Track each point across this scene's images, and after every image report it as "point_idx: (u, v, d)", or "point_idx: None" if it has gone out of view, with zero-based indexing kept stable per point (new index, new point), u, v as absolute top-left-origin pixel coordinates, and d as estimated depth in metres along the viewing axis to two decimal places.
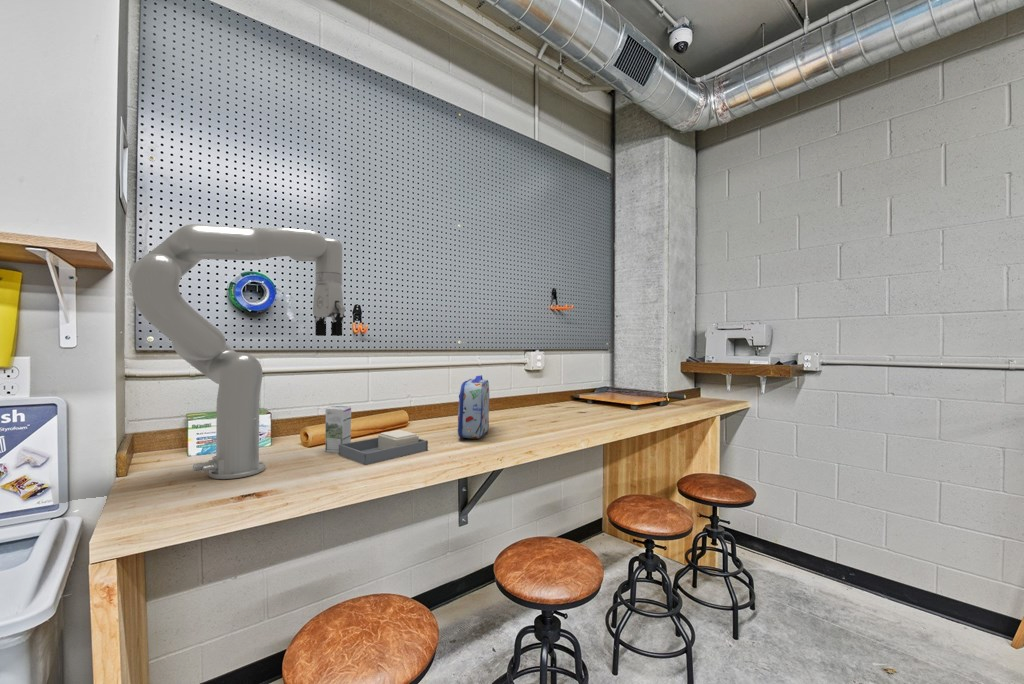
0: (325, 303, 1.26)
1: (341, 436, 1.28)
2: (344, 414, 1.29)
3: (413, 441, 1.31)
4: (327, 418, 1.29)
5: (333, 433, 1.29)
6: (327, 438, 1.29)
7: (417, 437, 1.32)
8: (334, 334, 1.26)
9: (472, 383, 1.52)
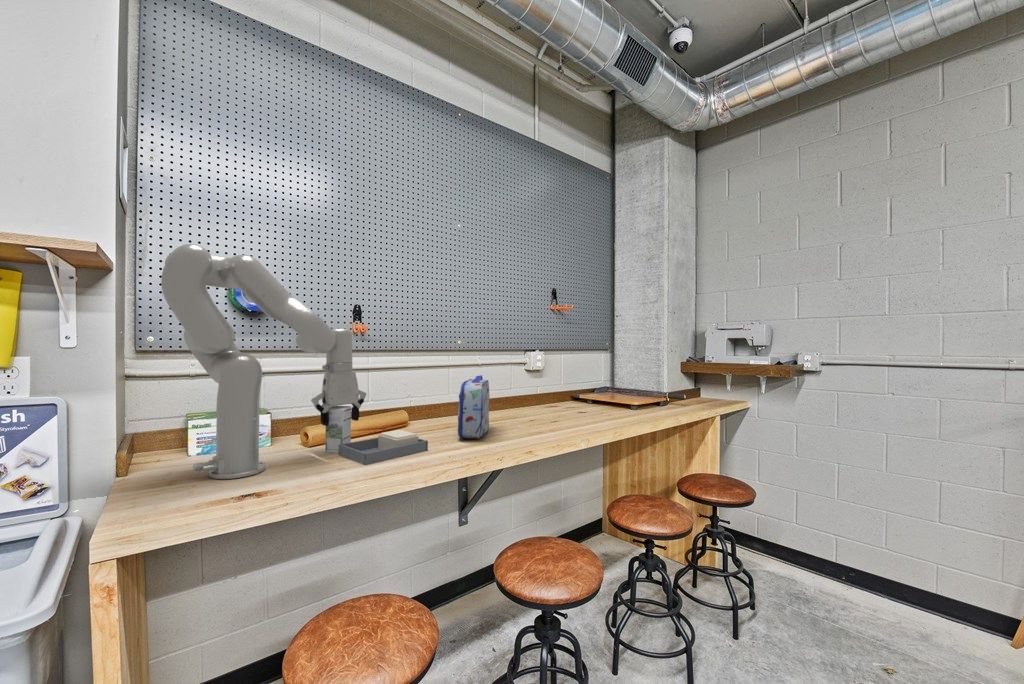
0: (354, 391, 1.32)
1: (341, 436, 1.28)
2: (344, 414, 1.29)
3: (413, 441, 1.31)
4: None
5: (333, 433, 1.29)
6: (327, 438, 1.29)
7: (417, 437, 1.32)
8: None
9: (472, 383, 1.52)
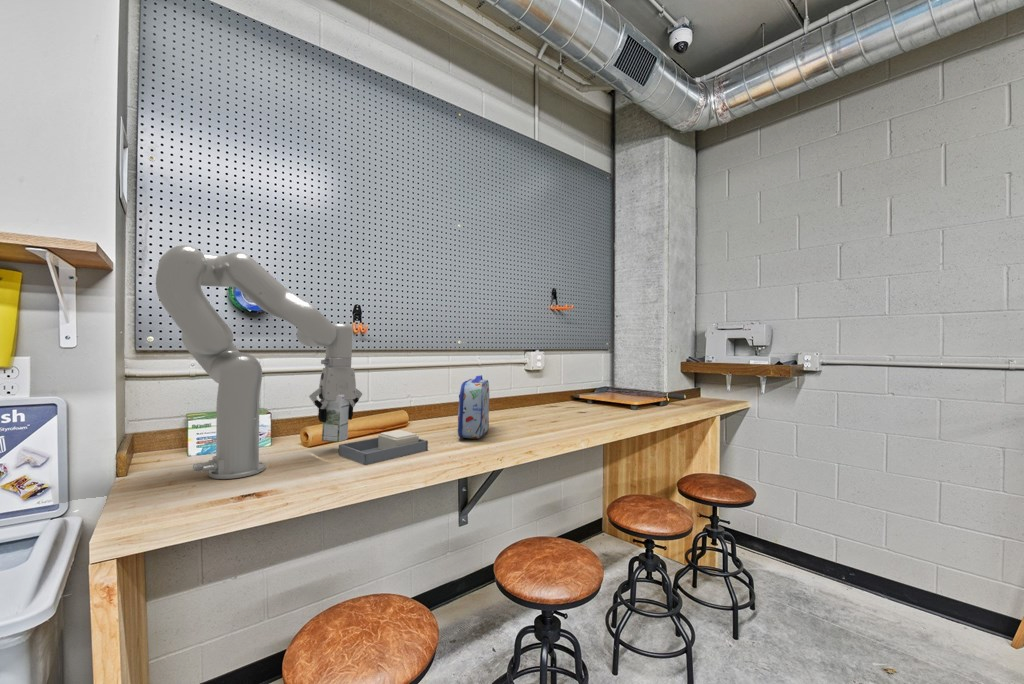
0: (351, 388, 1.32)
1: (338, 422, 1.28)
2: (342, 401, 1.29)
3: (413, 441, 1.31)
4: None
5: (330, 419, 1.28)
6: (324, 424, 1.28)
7: (417, 437, 1.32)
8: None
9: (472, 383, 1.52)
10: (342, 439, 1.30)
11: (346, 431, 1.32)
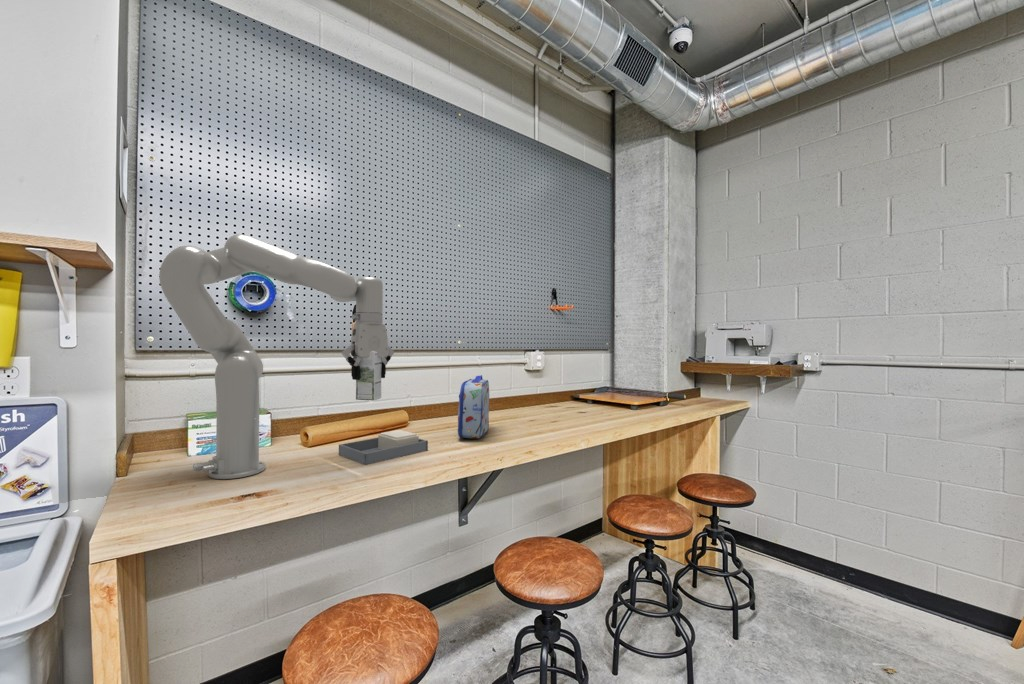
0: (384, 344, 1.26)
1: (373, 380, 1.22)
2: (375, 357, 1.23)
3: (413, 441, 1.31)
4: None
5: (364, 377, 1.23)
6: (358, 382, 1.23)
7: (417, 437, 1.32)
8: None
9: (472, 383, 1.52)
10: (376, 397, 1.25)
11: (380, 390, 1.27)
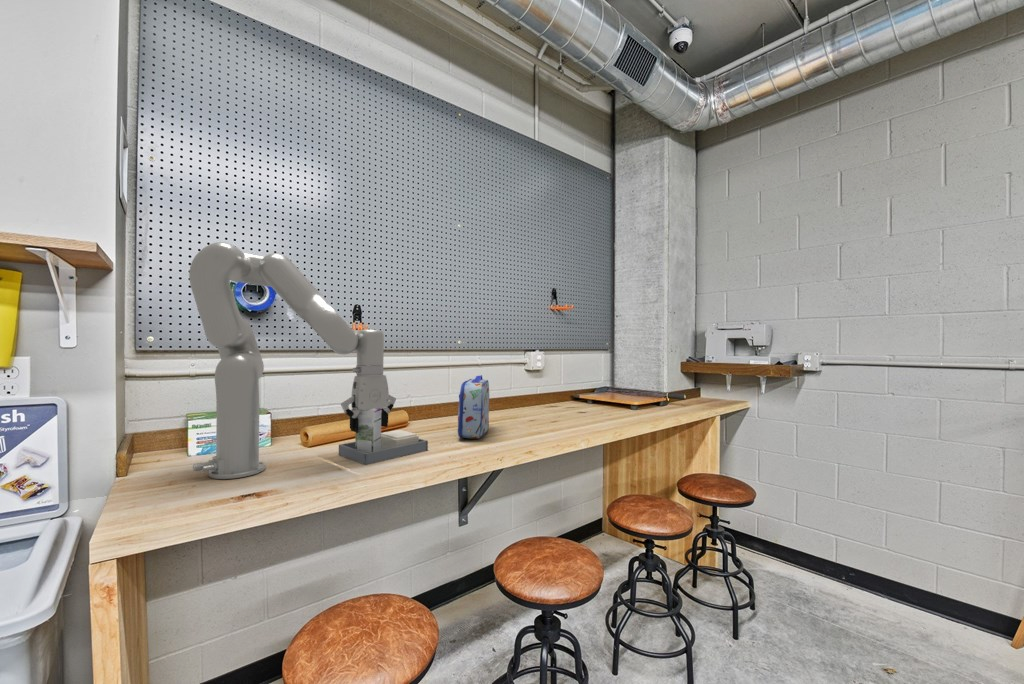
0: (384, 396, 1.26)
1: (372, 438, 1.22)
2: (375, 415, 1.23)
3: (413, 441, 1.31)
4: None
5: (363, 435, 1.22)
6: (357, 440, 1.22)
7: (417, 437, 1.32)
8: None
9: (472, 383, 1.52)
10: None
11: (379, 446, 1.26)
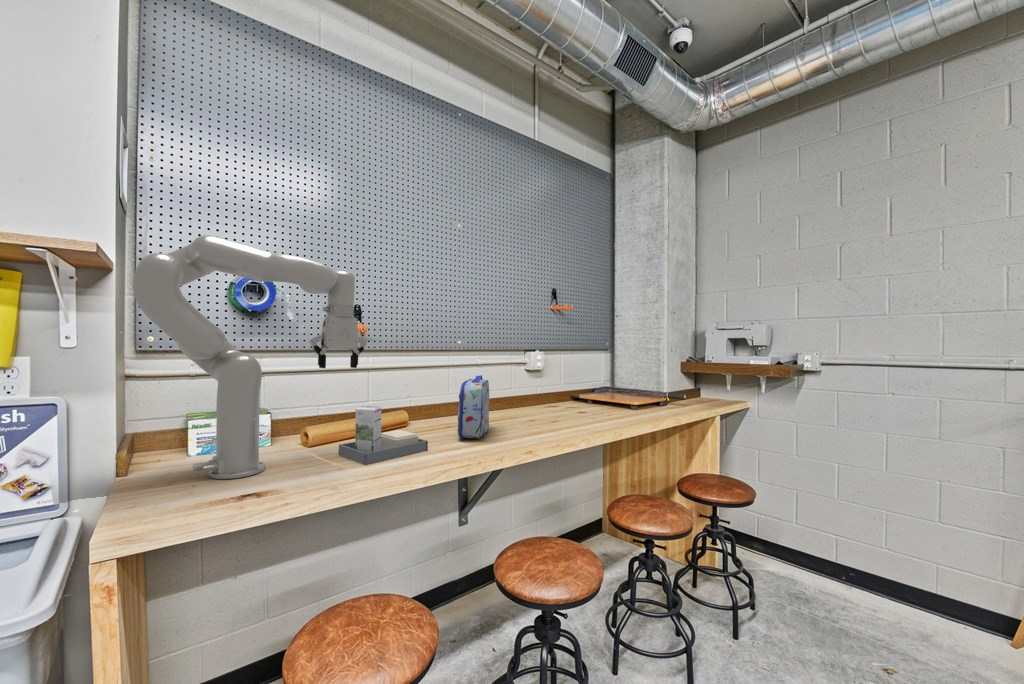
0: (353, 337, 1.30)
1: (372, 438, 1.22)
2: (375, 415, 1.23)
3: (413, 441, 1.31)
4: (357, 419, 1.22)
5: (363, 435, 1.22)
6: (357, 440, 1.22)
7: (417, 437, 1.32)
8: None
9: (472, 383, 1.52)
10: None
11: (379, 446, 1.26)
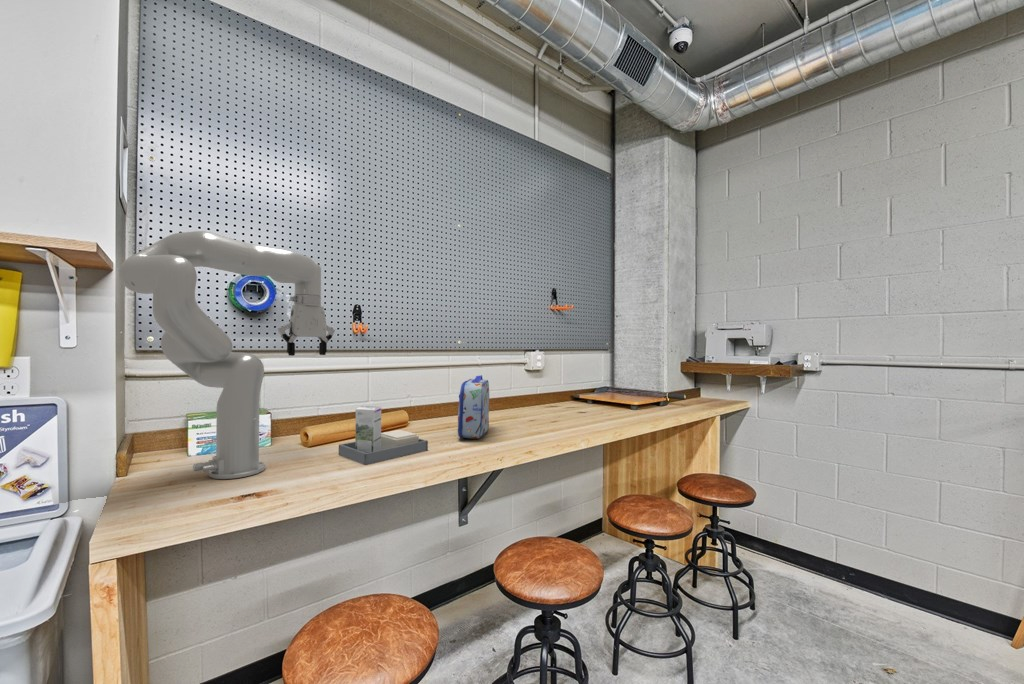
0: (321, 325, 1.35)
1: (372, 438, 1.22)
2: (375, 415, 1.23)
3: (413, 441, 1.31)
4: (357, 419, 1.22)
5: (363, 435, 1.22)
6: (357, 440, 1.22)
7: (417, 437, 1.32)
8: None
9: (472, 383, 1.52)
10: None
11: (379, 446, 1.26)
